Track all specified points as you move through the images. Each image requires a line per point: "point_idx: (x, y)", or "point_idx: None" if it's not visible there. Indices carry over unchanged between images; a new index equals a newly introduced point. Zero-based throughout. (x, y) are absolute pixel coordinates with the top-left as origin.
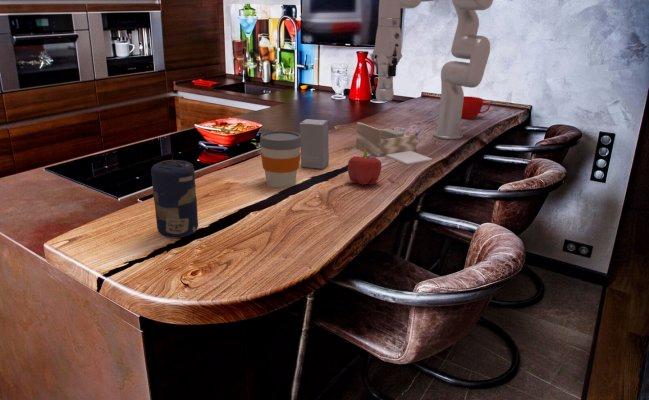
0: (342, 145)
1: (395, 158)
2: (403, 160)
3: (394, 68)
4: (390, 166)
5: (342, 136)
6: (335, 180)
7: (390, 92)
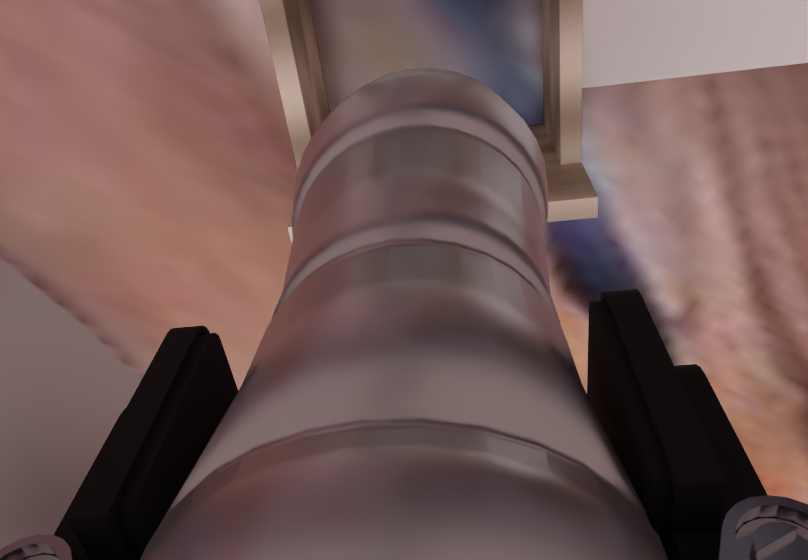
0: (249, 215)
1: (686, 75)
2: (754, 49)
3: (734, 483)
4: (765, 174)
5: (11, 108)
6: (762, 473)
7: (546, 204)
